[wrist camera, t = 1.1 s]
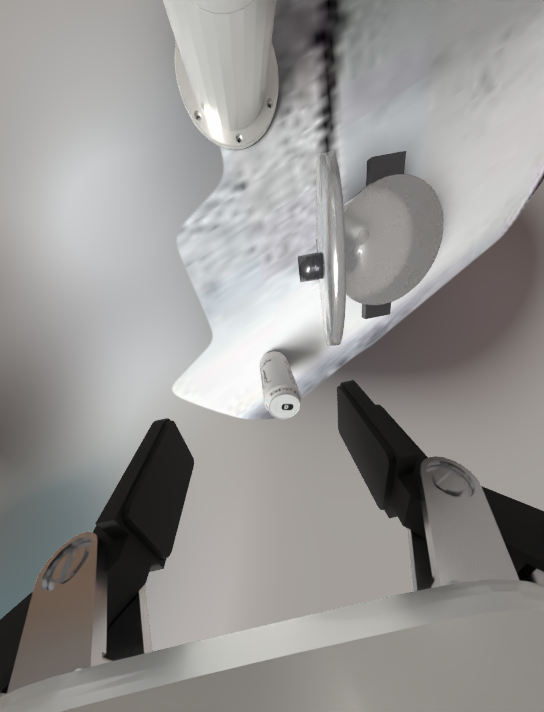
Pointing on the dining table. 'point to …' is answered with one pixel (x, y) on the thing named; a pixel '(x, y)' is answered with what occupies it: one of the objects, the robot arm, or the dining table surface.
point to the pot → (389, 235)
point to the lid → (328, 248)
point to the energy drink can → (279, 386)
